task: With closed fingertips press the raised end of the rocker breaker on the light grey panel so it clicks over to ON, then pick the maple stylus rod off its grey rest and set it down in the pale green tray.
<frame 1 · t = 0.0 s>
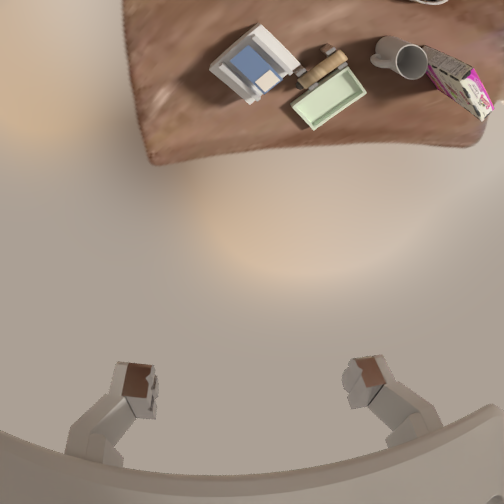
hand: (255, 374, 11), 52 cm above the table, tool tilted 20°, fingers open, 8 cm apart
tray: (327, 95, 50), on the table
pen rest: (316, 64, 45), on the table
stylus: (322, 69, 42), point 4 cm above the table, touching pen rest
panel: (253, 59, 44), on the table
cup: (383, 52, 42), on the table
candy bar box: (431, 66, 43), on the table
rocker: (256, 69, 39), point 8 cm above the table, hinge at 15.0°
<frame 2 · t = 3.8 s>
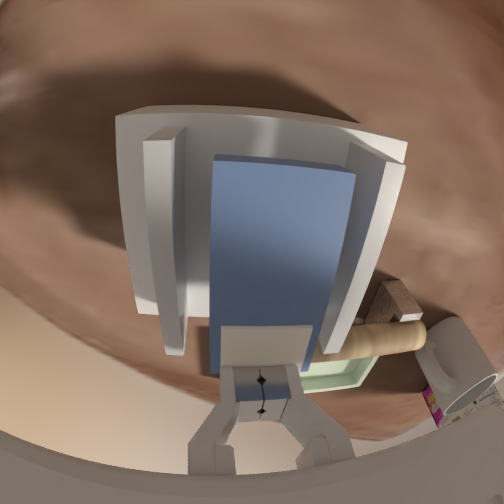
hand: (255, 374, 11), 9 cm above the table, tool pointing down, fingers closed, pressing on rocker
tray: (300, 357, 26), on the table
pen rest: (346, 302, 22), on the table
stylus: (364, 341, 19), point 4 cm above the table, touching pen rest
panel: (250, 193, 17), on the table
cup: (431, 334, 27), on the table
candy bar box: (444, 368, 33), on the table
rocker: (269, 282, 10), point 8 cm above the table, hinge at 6.2°, touching gripper
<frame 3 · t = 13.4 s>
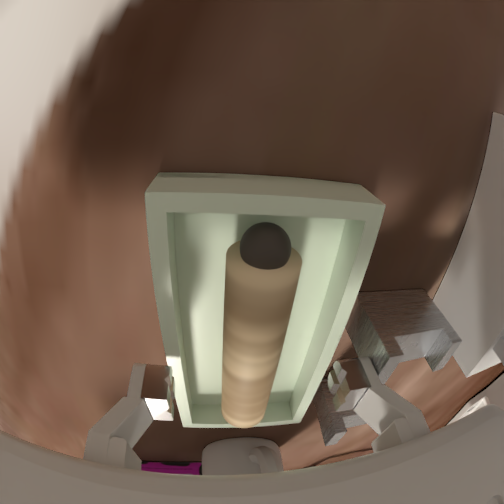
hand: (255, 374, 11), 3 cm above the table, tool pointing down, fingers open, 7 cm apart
tray: (248, 327, 13), on the table
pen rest: (363, 350, 15), on the table
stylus: (250, 356, 12), point 2 cm above the table, tilted 6°, touching tray
cup: (245, 442, 22), on the table
candy bar box: (163, 465, 25), on the table
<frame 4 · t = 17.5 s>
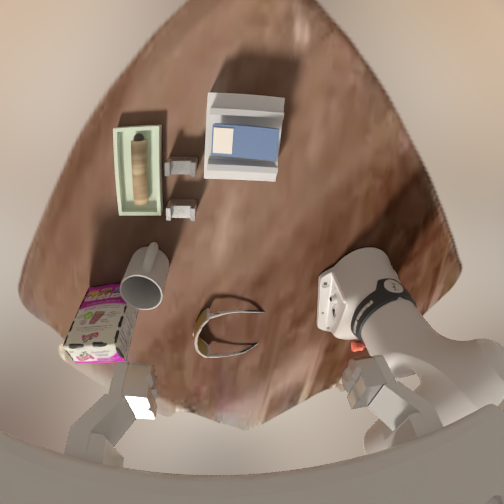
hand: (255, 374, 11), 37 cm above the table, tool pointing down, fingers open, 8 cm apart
tray: (140, 169, 42), on the table
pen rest: (183, 184, 44), on the table
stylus: (139, 172, 40), point 2 cm above the table, tilted 17°, touching tray
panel: (240, 132, 41), on the table
cup: (152, 255, 50), on the table
sunglasses: (227, 326, 62), on the table
candy bar box: (115, 292, 54), on the table
rocker: (245, 141, 34), point 8 cm above the table, hinge at -11.1°
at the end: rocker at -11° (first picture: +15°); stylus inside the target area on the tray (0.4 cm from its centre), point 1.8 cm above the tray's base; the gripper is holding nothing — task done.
